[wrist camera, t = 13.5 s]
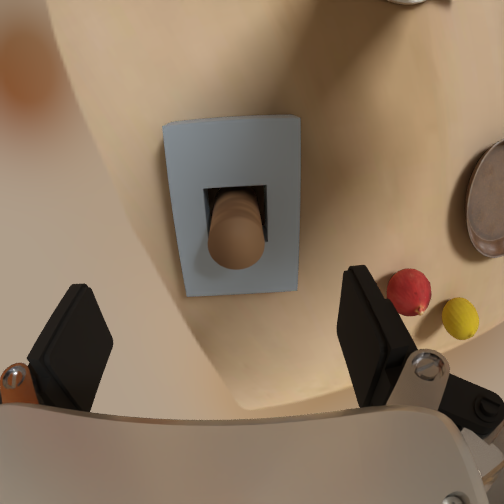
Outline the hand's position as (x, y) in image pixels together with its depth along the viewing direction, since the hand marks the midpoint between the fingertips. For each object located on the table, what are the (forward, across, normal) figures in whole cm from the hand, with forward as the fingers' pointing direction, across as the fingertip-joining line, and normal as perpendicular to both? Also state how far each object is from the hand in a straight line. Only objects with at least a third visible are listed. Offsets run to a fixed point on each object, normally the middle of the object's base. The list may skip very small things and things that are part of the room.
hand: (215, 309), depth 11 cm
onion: (+23, -20, +16) cm, 35 cm away
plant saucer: (+24, -37, +5) cm, 44 cm away
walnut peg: (+23, 0, +5) cm, 23 cm away
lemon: (+23, -31, +23) cm, 45 cm away
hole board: (+23, 0, +5) cm, 23 cm away
